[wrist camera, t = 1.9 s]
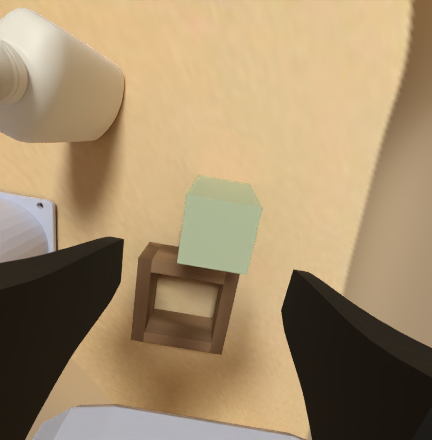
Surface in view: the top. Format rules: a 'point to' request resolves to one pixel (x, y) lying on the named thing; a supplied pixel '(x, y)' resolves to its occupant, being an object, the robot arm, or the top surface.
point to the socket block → (172, 321)
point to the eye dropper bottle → (53, 83)
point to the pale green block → (219, 225)
